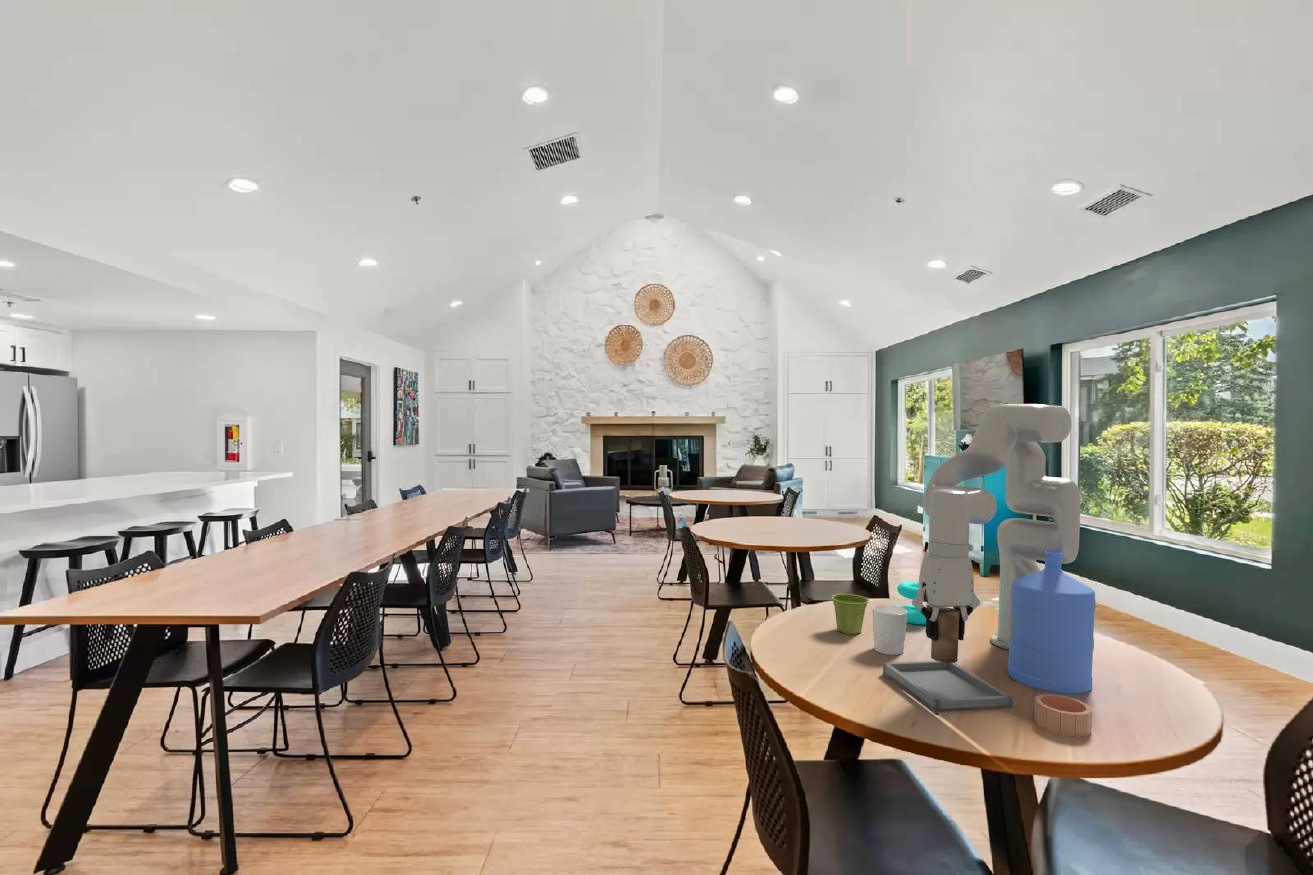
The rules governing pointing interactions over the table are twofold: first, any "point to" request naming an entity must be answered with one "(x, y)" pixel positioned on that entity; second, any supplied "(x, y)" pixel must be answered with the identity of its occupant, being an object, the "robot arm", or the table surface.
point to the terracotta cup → (1063, 715)
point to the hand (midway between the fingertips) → (944, 637)
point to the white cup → (889, 629)
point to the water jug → (1052, 630)
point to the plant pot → (849, 612)
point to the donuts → (913, 613)
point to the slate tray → (945, 686)
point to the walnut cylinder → (946, 636)
